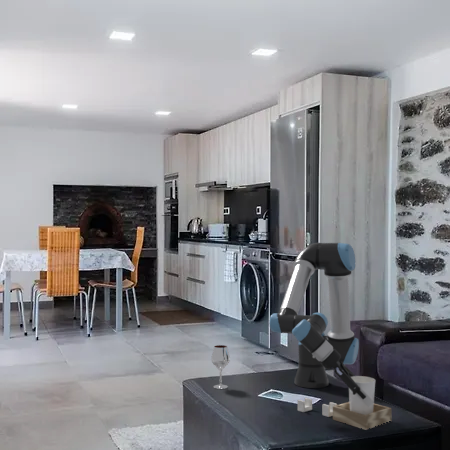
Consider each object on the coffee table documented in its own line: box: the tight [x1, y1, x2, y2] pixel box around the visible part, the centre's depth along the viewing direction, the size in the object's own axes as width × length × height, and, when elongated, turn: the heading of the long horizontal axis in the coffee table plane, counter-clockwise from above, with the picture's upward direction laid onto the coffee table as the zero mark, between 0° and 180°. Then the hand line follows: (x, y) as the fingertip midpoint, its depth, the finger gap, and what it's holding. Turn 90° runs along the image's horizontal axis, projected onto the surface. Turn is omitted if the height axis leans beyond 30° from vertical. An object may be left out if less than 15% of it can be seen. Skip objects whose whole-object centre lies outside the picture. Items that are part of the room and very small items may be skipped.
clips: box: [297, 397, 338, 418], centre depth 234 cm, size 8×13×4 cm, turn 39°
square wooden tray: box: [332, 401, 392, 431], centre depth 225 cm, size 15×15×5 cm
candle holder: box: [348, 375, 376, 415], centre depth 224 cm, size 10×10×12 cm
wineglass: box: [211, 344, 231, 390], centre depth 271 cm, size 8×8×18 cm
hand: (370, 400), depth 224 cm, fingers closed on candle holder, 9 cm apart
